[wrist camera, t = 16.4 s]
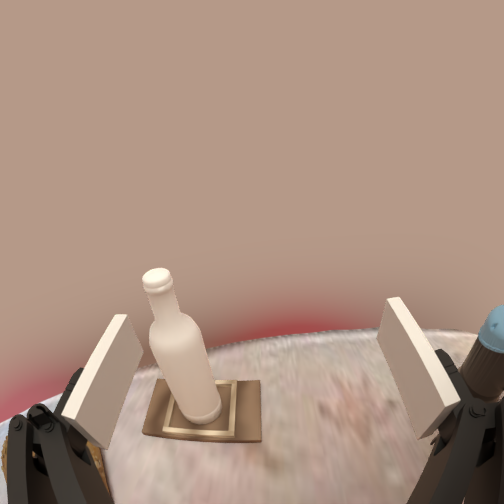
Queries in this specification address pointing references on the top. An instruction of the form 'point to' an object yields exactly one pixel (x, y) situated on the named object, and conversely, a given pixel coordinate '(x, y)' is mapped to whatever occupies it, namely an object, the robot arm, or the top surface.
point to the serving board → (220, 430)
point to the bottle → (180, 351)
